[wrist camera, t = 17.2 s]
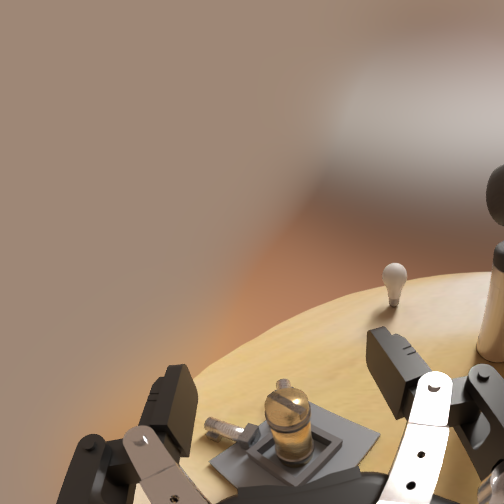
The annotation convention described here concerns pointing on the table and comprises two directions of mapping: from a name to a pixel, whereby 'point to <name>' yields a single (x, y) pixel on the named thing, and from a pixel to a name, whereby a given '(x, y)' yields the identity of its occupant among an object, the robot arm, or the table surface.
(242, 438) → the shaft
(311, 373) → the table surface
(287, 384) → the shaft
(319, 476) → the stand
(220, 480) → the table surface
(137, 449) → the robot arm
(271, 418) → the gold cylindrical piece
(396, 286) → the lightbulb
